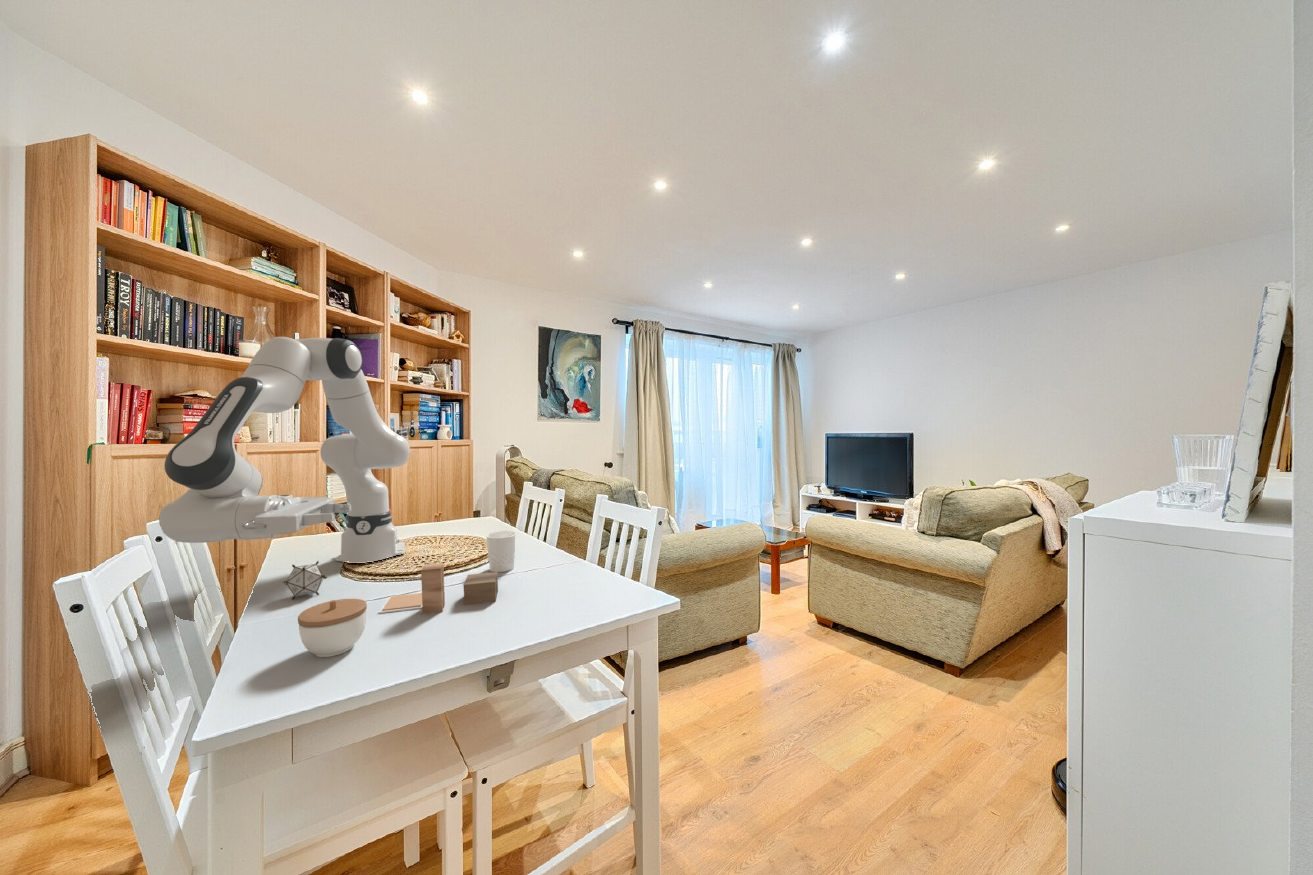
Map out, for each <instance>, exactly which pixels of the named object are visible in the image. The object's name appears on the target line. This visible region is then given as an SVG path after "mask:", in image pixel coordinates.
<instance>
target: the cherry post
mask: <svg viewBox="0 0 1313 875" xmlns="http://www.w3.org/2000/svg"><path fill="white" fill-rule="evenodd" d="M444 567H445V566H444V562H441V563H428V564H427V563H426V564H424V565H423V566H422V568H421V569H420V574H421V575H420V576H421V580H420V581H421V593H422V615H427V614H428V615H429V614H436V613H441V612H443V610H444V608H445V606H446V602H445V599H446V598H445V596H446V595H445V572H444V570H445V569H444Z"/></svg>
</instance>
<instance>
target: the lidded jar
mask: <svg viewBox="0 0 1313 875" xmlns="http://www.w3.org/2000/svg"><path fill="white" fill-rule="evenodd" d="M367 605H368V604H367V602H366V601H365V600H363V599H362V598H361V599H360V598H340V599H332V600H329V601H326V602H325V601H324V602H322V603H319V604H315V605H313V606H311V607H308V608H307V609H305V610H303V611H301V613H299V614H298V616H297V624H298V631H299V637H300V639H301V640H300V641H301V643H302V645H303V646H304V648H305V649H306V650H307V651H309V652H310V653H312V654H314V655H315V656H316V657H318V658H330V657H336V656H339V655H342V654H344V653H347V652H349V651H350V650H351V649H352V648H354V646H355V644H357V642H358V641H359V639H361V637H362V635H363V633H364V631H365V628H366V622H367Z"/></svg>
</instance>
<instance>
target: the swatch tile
mask: <svg viewBox="0 0 1313 875" xmlns="http://www.w3.org/2000/svg"><path fill="white" fill-rule="evenodd" d="M420 609H422V592H419V593H411V594H409V593H408V594H402V595H392V596H389V597H388V598H387V599H386V601H385V603H383V605H382V607H381V608H380V609H379V611H378V614H384V613H385V614H386V613H395V612H401V611H402V612H403V611H411V610H412V611H413V610H420Z"/></svg>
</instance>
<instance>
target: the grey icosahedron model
mask: <svg viewBox="0 0 1313 875" xmlns="http://www.w3.org/2000/svg"><path fill="white" fill-rule="evenodd" d="M319 563H320V560H317V561H316V562H315V563H314V564H306V565H300V566H296V565H295V564H292V566H291V567H292V568H293V569H292V570H291V572H290V574H289V576H288V578H287V579H286V580H284V581H282V582H281V583H283V584H285V585H286V586H287V587H288V588H289V590H290V592H291V594H292V595H293V596H292V598H291V599H292V601H293V600H295V598H296V597H300V596H305V595H307V596H308V595H312V594H316V595H317V596H320V593H319V592H318V591H319V590H320V587H321V585H322V583H323V581H324V580H325V579H327V578H328V577H327V576H326V575H325V574H323V573H322V571H321V569H320V568H319V566H318V564H319Z"/></svg>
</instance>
